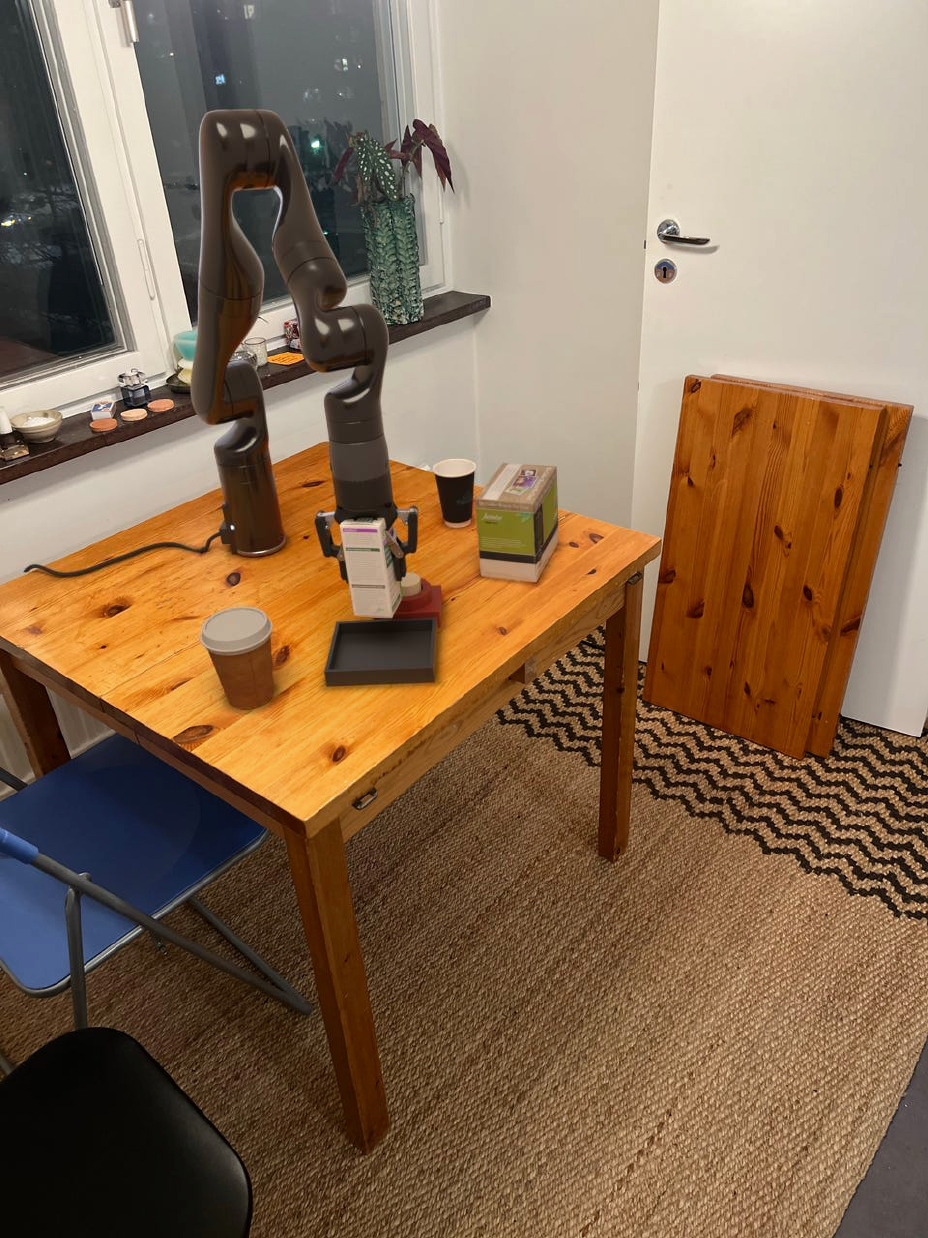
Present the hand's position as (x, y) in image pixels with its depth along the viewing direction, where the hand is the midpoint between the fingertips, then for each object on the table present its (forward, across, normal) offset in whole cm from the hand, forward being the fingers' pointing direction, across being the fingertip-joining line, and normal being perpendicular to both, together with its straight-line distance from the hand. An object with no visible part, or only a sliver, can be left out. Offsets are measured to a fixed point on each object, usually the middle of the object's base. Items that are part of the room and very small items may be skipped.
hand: (374, 579), depth 126 cm
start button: (+9, -3, -11) cm, 15 cm away
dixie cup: (+13, -10, -44) cm, 47 cm away
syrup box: (+5, 0, 0) cm, 5 cm away
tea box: (+13, -21, -28) cm, 37 cm away
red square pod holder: (+13, -3, -11) cm, 18 cm away
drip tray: (+13, 0, 0) cm, 13 cm away
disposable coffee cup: (+13, +18, +8) cm, 24 cm away
